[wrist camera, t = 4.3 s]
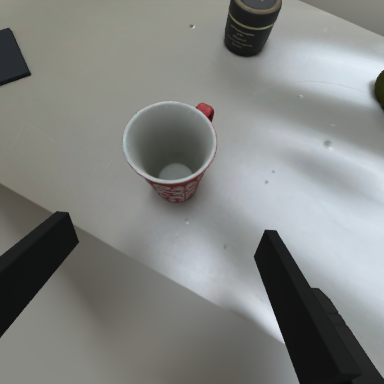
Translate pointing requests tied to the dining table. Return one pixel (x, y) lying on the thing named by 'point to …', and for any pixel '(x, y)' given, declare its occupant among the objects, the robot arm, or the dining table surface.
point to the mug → (171, 146)
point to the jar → (250, 24)
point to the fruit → (380, 88)
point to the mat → (11, 58)
